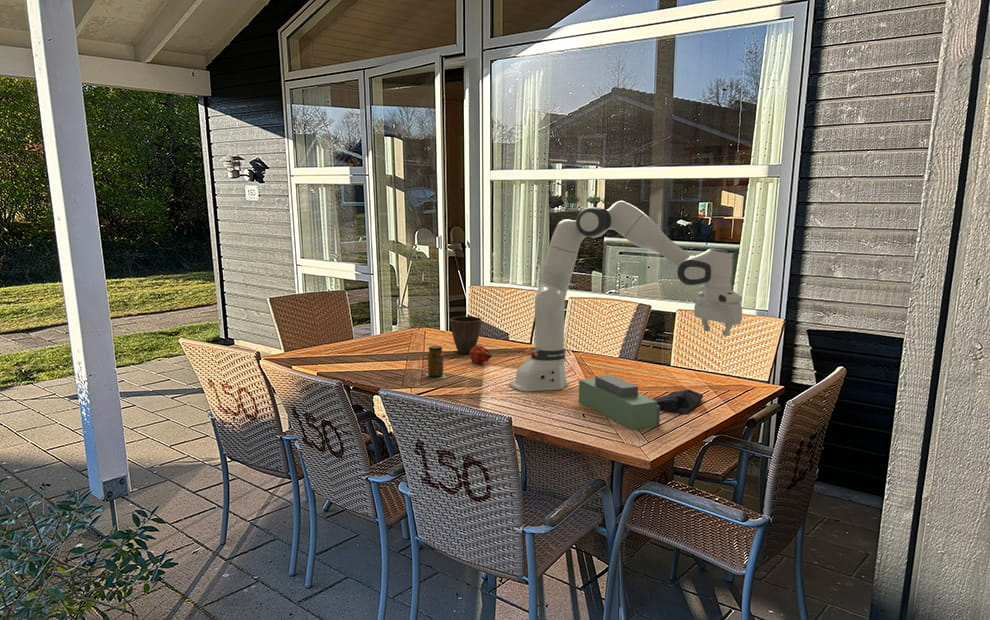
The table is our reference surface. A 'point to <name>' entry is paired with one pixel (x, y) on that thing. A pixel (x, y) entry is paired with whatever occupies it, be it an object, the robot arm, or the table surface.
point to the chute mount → (619, 401)
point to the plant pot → (465, 332)
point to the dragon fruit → (479, 354)
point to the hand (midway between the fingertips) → (716, 333)
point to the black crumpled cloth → (679, 401)
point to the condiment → (435, 363)
